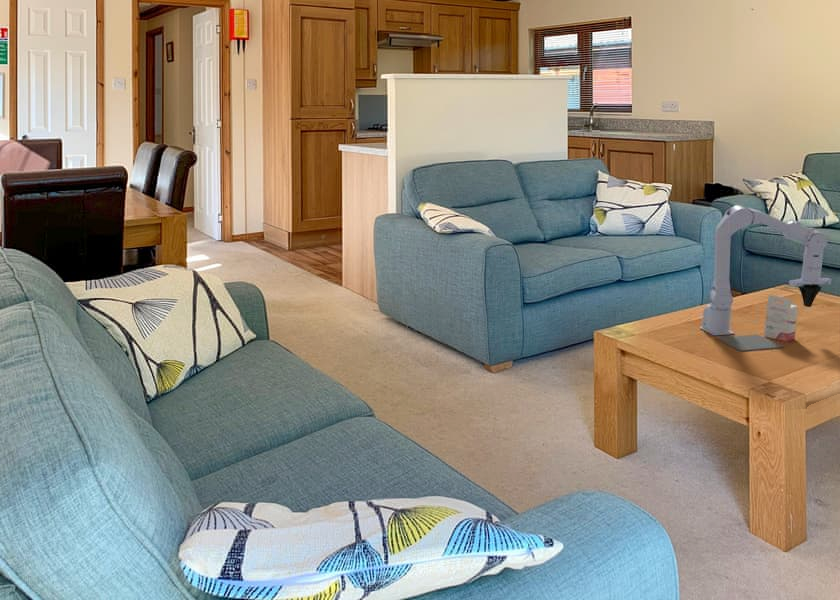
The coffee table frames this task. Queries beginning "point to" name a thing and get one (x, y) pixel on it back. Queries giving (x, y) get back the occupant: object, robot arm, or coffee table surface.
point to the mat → (750, 342)
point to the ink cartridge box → (780, 319)
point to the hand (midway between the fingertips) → (807, 306)
